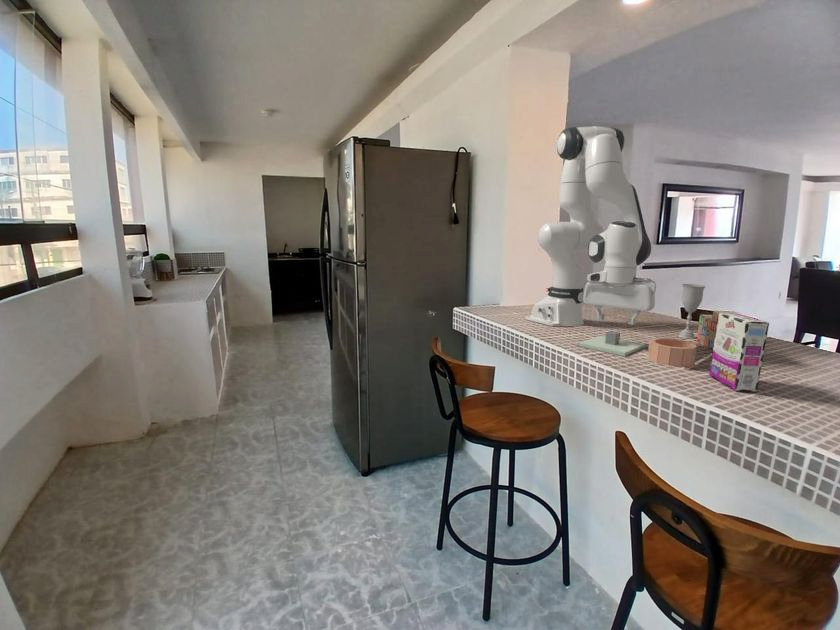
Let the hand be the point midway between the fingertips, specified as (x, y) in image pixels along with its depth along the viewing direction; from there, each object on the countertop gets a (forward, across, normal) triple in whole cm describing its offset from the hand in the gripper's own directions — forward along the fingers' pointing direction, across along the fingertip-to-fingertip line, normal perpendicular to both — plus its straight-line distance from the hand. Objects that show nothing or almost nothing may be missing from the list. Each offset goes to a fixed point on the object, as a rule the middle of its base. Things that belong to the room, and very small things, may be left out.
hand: (615, 322), depth 129 cm
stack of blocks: (+9, -22, -25) cm, 34 cm away
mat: (+9, +1, 0) cm, 9 cm away
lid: (+8, +1, 0) cm, 8 cm away
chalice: (+8, -9, -36) cm, 38 cm away
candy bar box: (+10, -32, +8) cm, 34 cm away
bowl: (+9, -16, 0) cm, 19 cm away
